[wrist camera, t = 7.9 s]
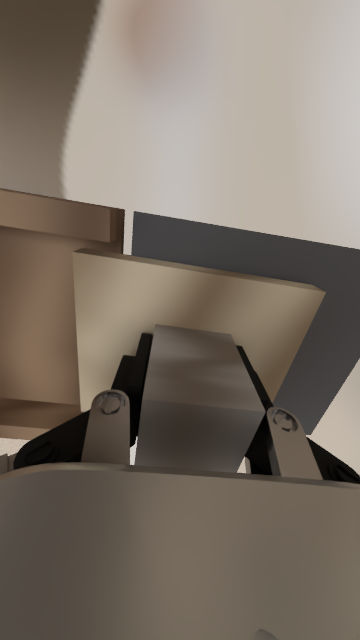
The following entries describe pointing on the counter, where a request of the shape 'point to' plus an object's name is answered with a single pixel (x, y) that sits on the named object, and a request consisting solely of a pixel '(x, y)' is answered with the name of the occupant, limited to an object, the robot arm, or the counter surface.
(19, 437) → the walnut box
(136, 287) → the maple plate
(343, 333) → the black mat
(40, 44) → the counter surface
